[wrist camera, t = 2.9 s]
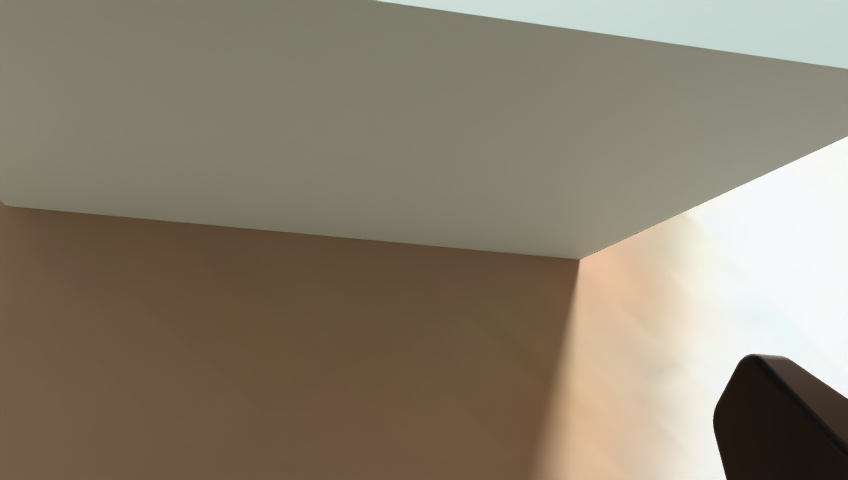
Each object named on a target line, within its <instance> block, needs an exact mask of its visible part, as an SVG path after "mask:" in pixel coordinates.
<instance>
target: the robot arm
mask: <svg viewBox="0 0 848 480" xmlns="http://www.w3.org/2000/svg"><path fill="white" fill-rule="evenodd" d="M713 427H714V433H715V437H716V441H717V445H718V448H719V452H720V456H721V460H722V464H723V468H724V471H725V475H726V479H727V480H848V399H847V398H845V397H844V396H843V395H841V394H840V393H838V392H837V391H835V390H834V389H832V388H831V387H829V386H828V385H826V384H825V383H824V382H822V381H821V380H819V379H818V378H816V377H815V376H813V375H812V374H810V373H809V372H808V371H806V370H805V369H803V368H802V367H800V366H799V365H797V364H796V363H794V362H793V361H791V360H790V359H788V358H785V357H782V356H775V355H762V354H750V355H747V356H745V357H744V358H743V359H741V360H740V362H739V363H738V365H737V367H736V369H735V371H734V373H733V374H732V376H731V378H730V380H729V382H728V384H727V386H726V388H725V390H724V392H723V393H722V395H721V397H720V399H719V401H718V403H717V405H716V407H715V411H714V416H713Z"/></svg>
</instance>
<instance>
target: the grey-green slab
mask: <svg viewBox="0 0 848 480" xmlns="http://www.w3.org/2000/svg"><path fill="white" fill-rule="evenodd" d="M847 136H848V0H0V201H1V202H2V203H3V204H5V205H6V206H13V207H23V208H34V209H45V210H55V211H66V212H77V213H87V214H98V215H109V216H119V217H130V218H141V219H151V220H162V221H173V222H183V223H194V224H205V225H215V226H226V227H237V228H247V229H258V230H269V231H279V232H290V233H301V234H312V235H322V236H333V237H344V238H354V239H365V240H376V241H386V242H397V243H408V244H418V245H429V246H440V247H450V248H461V249H472V250H482V251H493V252H504V253H514V254H525V255H536V256H546V257H557V258H568V259H578V260H580V259H582V258H585V257H587V256H589V255H591V254H593V253H595V252H598V251H600V250H602V249H604V248H606V247H608V246H611V245H613V244H615V243H617V242H619V241H621V240H624V239H626V238H628V237H630V236H632V235H634V234H637V233H639V232H641V231H643V230H645V229H647V228H650V227H652V226H654V225H656V224H658V223H660V222H663V221H665V220H667V219H669V218H671V217H673V216H676V215H678V214H680V213H682V212H684V211H687V210H689V209H691V208H693V207H695V206H697V205H700V204H702V203H704V202H706V201H708V200H710V199H713V198H715V197H717V196H719V195H721V194H723V193H726V192H728V191H730V190H732V189H734V188H736V187H739V186H741V185H743V184H745V183H747V182H749V181H752V180H754V179H756V178H758V177H760V176H762V175H765V174H767V173H769V172H771V171H773V170H775V169H778V168H780V167H782V166H784V165H786V164H788V163H791V162H793V161H795V160H797V159H799V158H801V157H804V156H806V155H808V154H810V153H812V152H814V151H817V150H819V149H821V148H823V147H825V146H827V145H830V144H832V143H834V142H836V141H838V140H840V139H843V138H845V137H847Z"/></svg>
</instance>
